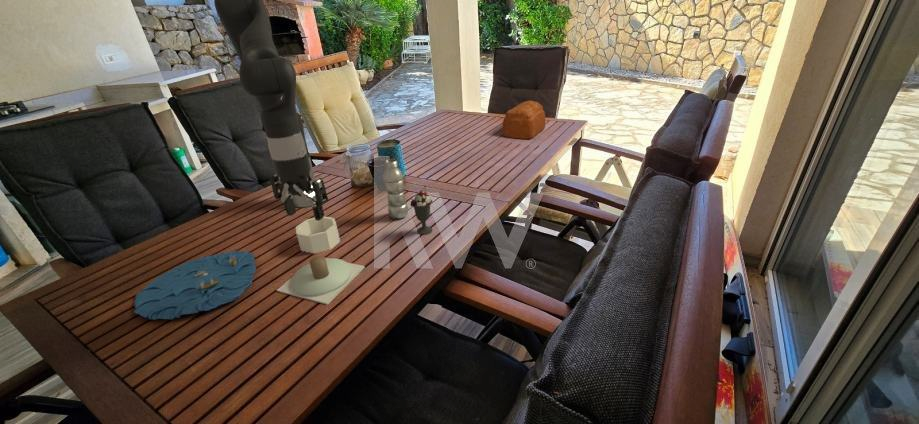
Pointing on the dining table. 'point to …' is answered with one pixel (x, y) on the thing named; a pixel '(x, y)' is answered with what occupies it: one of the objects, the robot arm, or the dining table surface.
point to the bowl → (317, 235)
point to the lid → (321, 276)
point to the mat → (324, 298)
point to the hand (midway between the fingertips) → (305, 216)
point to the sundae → (422, 211)
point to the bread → (524, 120)
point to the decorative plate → (197, 286)
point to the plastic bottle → (395, 190)
